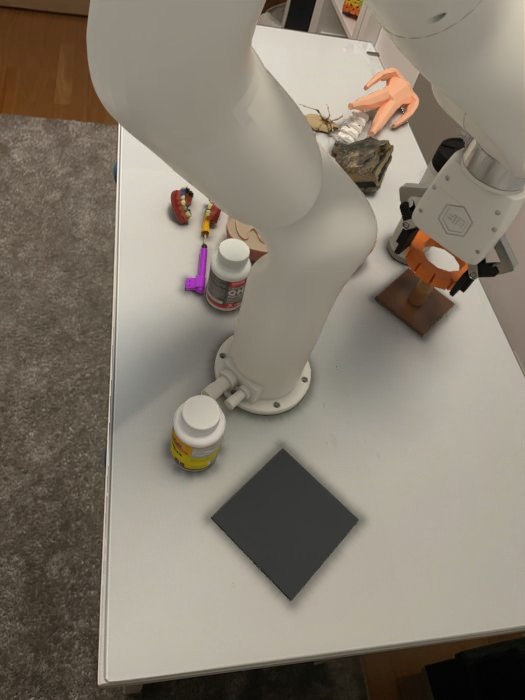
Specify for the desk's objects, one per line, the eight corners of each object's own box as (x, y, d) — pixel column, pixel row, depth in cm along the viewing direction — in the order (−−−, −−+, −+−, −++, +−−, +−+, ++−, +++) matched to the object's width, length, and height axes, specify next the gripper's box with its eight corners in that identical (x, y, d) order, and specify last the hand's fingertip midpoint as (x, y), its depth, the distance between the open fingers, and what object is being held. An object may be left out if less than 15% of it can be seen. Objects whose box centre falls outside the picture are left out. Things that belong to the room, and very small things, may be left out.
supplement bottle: (167, 431, 65) (171, 389, 57) (214, 426, 67) (224, 385, 58) (172, 476, 63) (177, 439, 54) (221, 470, 64) (232, 433, 56)
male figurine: (368, 153, 103) (417, 112, 118) (387, 137, 99) (435, 96, 114) (332, 106, 101) (387, 70, 117) (350, 87, 97) (404, 53, 113)
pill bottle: (230, 318, 76) (240, 272, 68) (198, 299, 77) (204, 250, 69) (250, 295, 79) (262, 247, 71) (219, 276, 80) (228, 227, 72)
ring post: (422, 337, 81) (440, 312, 76) (374, 298, 83) (389, 272, 78) (453, 306, 85) (472, 280, 80) (407, 270, 88) (422, 244, 83)
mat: (291, 601, 58) (291, 600, 57) (211, 517, 61) (211, 517, 61) (358, 520, 64) (359, 519, 63) (282, 448, 67) (282, 447, 67)
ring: (449, 301, 72) (456, 292, 71) (392, 257, 75) (397, 248, 74) (482, 268, 78) (489, 259, 76) (428, 228, 80) (433, 218, 79)
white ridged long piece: (352, 110, 109) (356, 102, 108) (368, 121, 109) (373, 113, 108) (333, 137, 102) (338, 129, 100) (350, 149, 102) (356, 142, 100)
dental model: (222, 201, 81) (168, 202, 81) (224, 224, 84) (172, 224, 84) (224, 178, 84) (172, 178, 84) (226, 201, 87) (176, 201, 88)
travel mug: (425, 270, 88) (489, 168, 72) (385, 259, 88) (441, 154, 72) (426, 243, 92) (488, 140, 76) (388, 232, 92) (442, 127, 75)
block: (356, 171, 100) (359, 164, 99) (328, 155, 101) (330, 148, 99) (364, 159, 102) (367, 152, 100) (336, 144, 102) (339, 136, 101)
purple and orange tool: (205, 294, 77) (211, 215, 86) (204, 289, 76) (210, 209, 85) (186, 295, 77) (194, 216, 86) (184, 290, 76) (193, 210, 85)
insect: (295, 127, 101) (292, 135, 102) (348, 140, 101) (345, 149, 103) (300, 96, 105) (297, 105, 107) (351, 110, 106) (348, 119, 108)
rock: (327, 170, 94) (338, 195, 99) (379, 164, 89) (388, 190, 93) (342, 136, 98) (352, 161, 102) (392, 128, 93) (401, 155, 97)
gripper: (416, 128, 60) (361, 243, 74) (555, 222, 55) (468, 325, 69) (450, 107, 63) (392, 220, 78) (583, 193, 59) (495, 296, 73)
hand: (428, 269), depth 73 cm, fingers closed on ring, 8 cm apart
